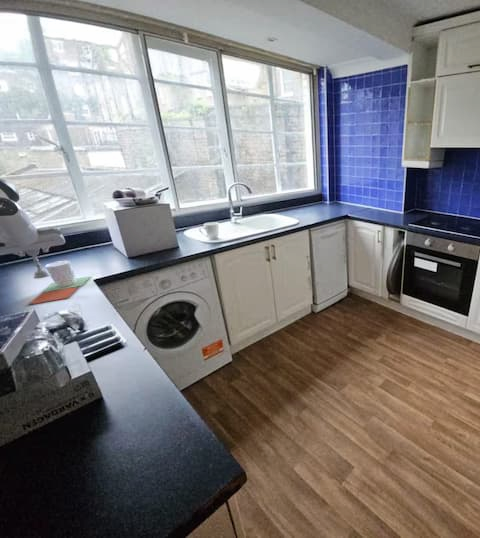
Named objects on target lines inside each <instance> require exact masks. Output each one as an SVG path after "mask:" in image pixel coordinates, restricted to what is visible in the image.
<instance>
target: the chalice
mask: <svg viewBox="0 0 480 538" xmlns="http://www.w3.org/2000/svg"><path fill="white" fill-rule="evenodd" d="M40 250H41V248H39V249H34V250H28V251H24V253H25V255H27V256H28V257H32V258H33V261H32V262H34V263H35V264H34V266H35V267H36V268H37V270H35V271H34V273H33V279H36V280H37V279H43V278H47V277H51V276H50V275H51V274H50V273H49V272H48V270H47V269H43V268H42V267H41V265H42V263H40V262H39V260H40V259H38V257H37V256H38V255H39V254H40Z"/></svg>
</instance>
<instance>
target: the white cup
mask: <svg viewBox="0 0 480 538" xmlns="http://www.w3.org/2000/svg"><path fill="white" fill-rule="evenodd" d="M44 267H45V270H47V272H49V273H50V274H51V275H50V276H49V277H50V278H51V279H52V281H53V283H54V282H55V284H56V286H57V287H65V286H69V285H72V284H74V283H76V282H77V280H76V279H77V278H76V274H75V271H74V268H73V266H72V263H71V261H70V260H69V259H67V260H66V259H65V260H58V261H52V262H50V263H47V264H46V265H45V266H44Z"/></svg>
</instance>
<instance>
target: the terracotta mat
mask: <svg viewBox="0 0 480 538" xmlns="http://www.w3.org/2000/svg"><path fill="white" fill-rule="evenodd" d="M78 289H79V287H75V288H69V289H63V290H57V291H51V292H44V293H43V292H42V293H40V294H39V295H38V296H37V297H36V298H34V299H33V300H32V301H31V302H30V303H28V306H32V305H33V306H34V305H38V304H43V303H50V302H54V301H61V300H67V299H69V298H70V297H71V296H72V295H73V294H74V293H75V292H76V291H77V290H78Z"/></svg>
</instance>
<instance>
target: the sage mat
mask: <svg viewBox="0 0 480 538" xmlns="http://www.w3.org/2000/svg"><path fill="white" fill-rule="evenodd" d="M89 279H90V276H85V277H79V278H76V280H77V282H76V283H74V284H72V285H69V286H65V287H57V286H56V284H55V282H54V281H53V283H51V284H50V285H49V286H48V287H46V288H45V289H44V290H43V291H42V293H44V292H51V291H57V290H63V289H69V288H75V287H78V288H81V287H82V286H84V284H85V283H86V282H87V281H88V280H89Z"/></svg>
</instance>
